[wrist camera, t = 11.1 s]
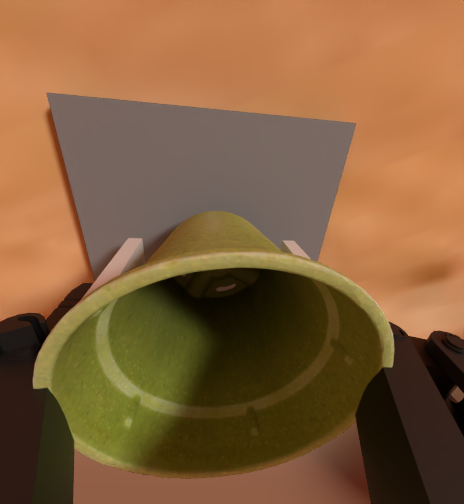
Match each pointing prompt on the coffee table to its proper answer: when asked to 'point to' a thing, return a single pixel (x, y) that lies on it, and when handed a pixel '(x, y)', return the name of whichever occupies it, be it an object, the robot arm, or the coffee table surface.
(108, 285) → the plant pot
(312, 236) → the mat
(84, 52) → the coffee table surface
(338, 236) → the coffee table surface
